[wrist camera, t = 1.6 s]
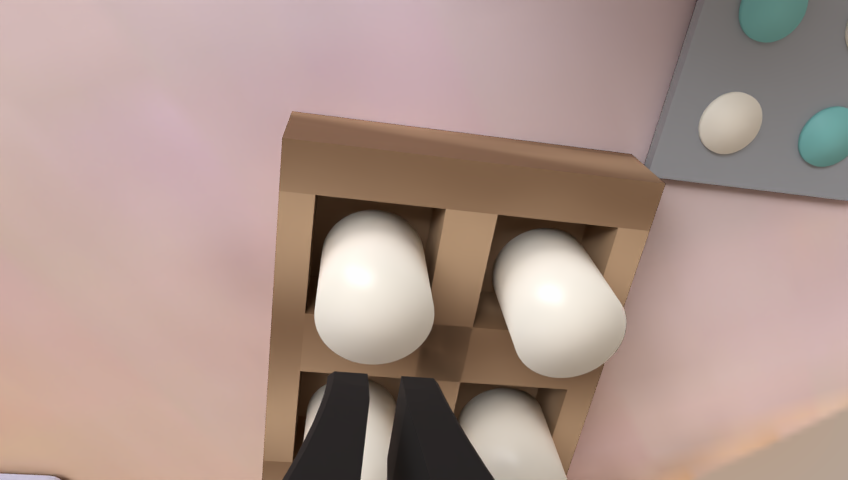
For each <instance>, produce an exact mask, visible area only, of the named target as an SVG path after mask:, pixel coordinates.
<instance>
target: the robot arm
mask: <svg viewBox="0 0 848 480" xmlns="http://www.w3.org/2000/svg"><path fill="white" fill-rule="evenodd" d="M369 402H370V395H369V383H368V374H365V373H351V372H337V371H334V372H333V373H331V374H330V375H328V377H327V384H326V388H325V392H324V395H323V398H322V401H321V404H320V406H319V409H318V411H317V414H316V416H315V419H314V421H313V423H312V425H311V427H310V429H309V431H308V433H307V435H306V438H305V440H304V442H303V444H302V446H301V448H300V450H299V452H298V453H297V455H296V457H295V459H294V461H293V462H292V464H291V466H290V467H289V469H288V471H287V473H286V474H285V476H284V478H283V479H282V480H361V472H362V463H363V454H364V446H365V437H366V428H367V420H368V411H369ZM0 480H61V479H59V478H57V477H55V476H48V475H25V474H2V473H0ZM387 480H495V479H494V478H493V476H492V475H491V473H490V472H489V470H488V469H487V467H486V466H485V464H484V463H483V461H482V459H481V458H480V456H479V455H478V453H477V452H476V450H475V448H474V447H473V445H472V444H471V442H470V441H469V439H468V437H467V436H466V434H465V432H464V431H463V429H462V427H461V425H460V424H459V422H458V420H457V418H456V417H455V415H454V413H453V411H452V409H451V408H450V406H449V404H448V402H447V400H446V398H445V396H444V394H443V392H442V390H441V388H440V386H439V384H438V383H437V382H436V380H435V379H434V378H423V377H409V376H401V380H400V386H399V392H398V398H397V404H396V410H395V415H394V421H393V427H392V433H391V439H390V445H389V450H388V456H387Z"/></svg>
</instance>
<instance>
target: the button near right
mask: <svg viewBox="0 0 848 480" xmlns="http://www.w3.org/2000/svg"><path fill="white" fill-rule="evenodd" d="M492 284H493V287H494V290H495V293H496V296H497V299H498V302H499V304H500V307H501V310H502V313H503V316H504V319H505V321H506V324H507V327H508V330H509V333H510V336H511V338H512V341H513V344H514V347H515V350H516V352H517V354H518V356H519V358H520V359H521V361H522V362H523V363H524V364H525V365H526V366H527V367H528V368H530V369H531V370H532V371H534V372H536V373H538V374H541V375H544V376H548V377H554V378H569V377H575V376H579V375H582V374H585V373H588V372H590V371H592V370H594V369H596V368H598V367H599V366H601V365H602V364H604V363H605V362H606V361H607V360H608V359H610V357H611V356H612V355H613V354H614V353H615V352H616V351H617V349H618V348H619V346H620V344H621V343H622V340H623V338H624V335H625V331H626V315H625V311H624V308H623V306H622V304H621V303H620V301H619V300H618V298H617V297H616V295H615V294H614V292H613V291H612V289H611V288H610V286H609V285H608V283H607V282H606V280H605V279H604V277H603V276H602V274H601V273H600V271H599V270H598V268H597V267H596V265H595V264H594V262H593V261H592V259H591V258H590V256H589V255H588V253H587V252H586V250H585V249H584V248H583V246H582V245H581V243H580V242H579V241H578V240H577V239H576V238H575V237H573V236H572V235H570V234H569V233H567V232H564V231H562V230H558V229H553V228H539V229H533V230H530V231H527V232H524V233H522V234H520V235H518V236H516V237H515V238H513V239H512V240H511V241H509V242H508V243H507V244H506V245H505V246H504V247H503V248H502V250H501V251H500V252H499V254H498V255H497V257H496V259H495V262H494V265H493V268H492Z"/></svg>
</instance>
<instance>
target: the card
mask: <svg viewBox="0 0 848 480" xmlns="http://www.w3.org/2000/svg"><path fill="white" fill-rule="evenodd" d="M645 166H646V167H647V168H648V169H649V170H650V171H651V172H653V173H654V174H655V175H656V176H657V177H658V178H664V179H672V180H680V181H688V182H696V183H705V184H713V185H721V186H729V187H738V188H746V189H754V190H762V191H771V192H779V193H787V194H795V195H804V196H812V197H820V198H828V199H837V200H845V201H848V0H697V3H696V6H695V9H694V12H693V15H692V18H691V22H690V25H689V28H688V31H687V34H686V37H685V40H684V43H683V46H682V50H681V53H680V56H679V59H678V62H677V65H676V68H675V71H674V75H673V78H672V81H671V84H670V87H669V90H668V93H667V96H666V99H665V103H664V106H663V109H662V112H661V115H660V118H659V121H658V124H657V128H656V131H655V134H654V137H653V140H652V143H651V146H650V149H649V153H648V156H647V159H646V162H645Z"/></svg>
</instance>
